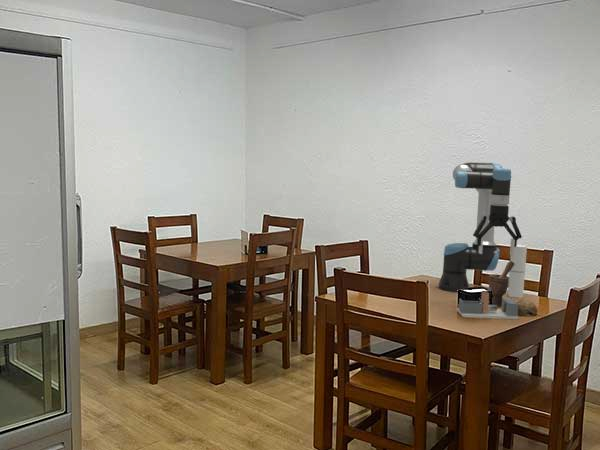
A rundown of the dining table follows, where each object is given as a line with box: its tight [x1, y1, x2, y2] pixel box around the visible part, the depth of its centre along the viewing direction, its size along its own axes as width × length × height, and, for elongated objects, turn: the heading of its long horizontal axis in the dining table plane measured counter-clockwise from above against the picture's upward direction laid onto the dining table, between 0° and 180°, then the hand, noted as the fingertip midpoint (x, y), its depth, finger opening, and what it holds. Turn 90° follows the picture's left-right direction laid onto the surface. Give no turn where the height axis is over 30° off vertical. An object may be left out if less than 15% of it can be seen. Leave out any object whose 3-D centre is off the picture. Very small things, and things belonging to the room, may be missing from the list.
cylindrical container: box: [507, 244, 528, 299], centre depth 301 cm, size 7×7×25 cm
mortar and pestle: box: [488, 260, 514, 306], centre depth 285 cm, size 12×9×20 cm
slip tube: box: [480, 290, 498, 313], centre depth 264 cm, size 4×14×9 cm, turn 88°
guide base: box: [456, 297, 519, 320], centre depth 264 cm, size 12×23×6 cm, turn 88°
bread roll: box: [517, 299, 538, 317], centre depth 269 cm, size 10×10×8 cm
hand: (496, 254), depth 264 cm, fingers open, 13 cm apart
